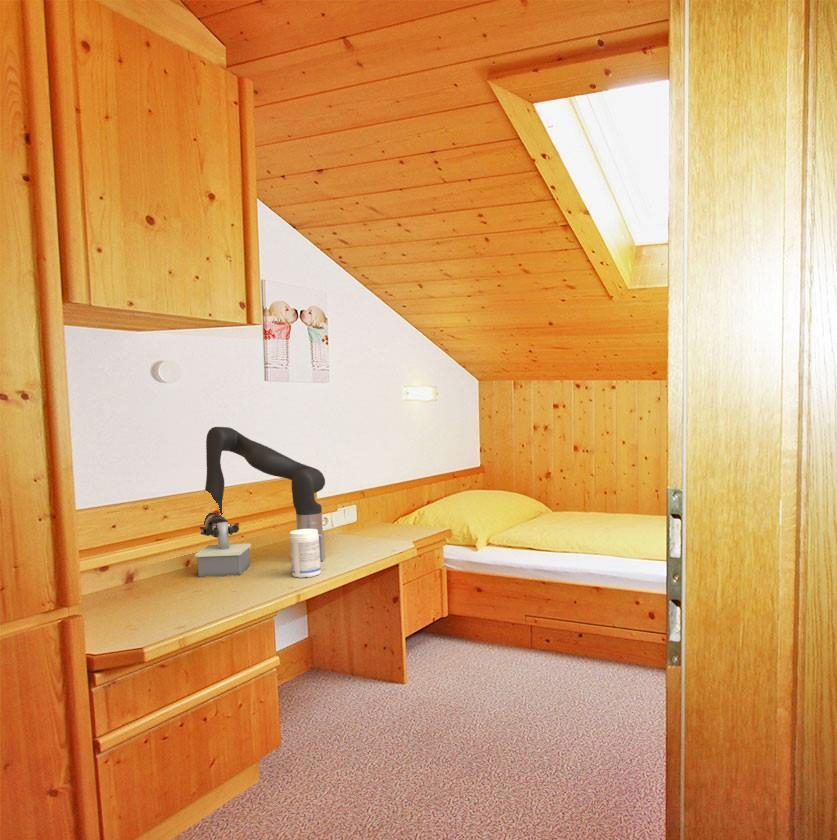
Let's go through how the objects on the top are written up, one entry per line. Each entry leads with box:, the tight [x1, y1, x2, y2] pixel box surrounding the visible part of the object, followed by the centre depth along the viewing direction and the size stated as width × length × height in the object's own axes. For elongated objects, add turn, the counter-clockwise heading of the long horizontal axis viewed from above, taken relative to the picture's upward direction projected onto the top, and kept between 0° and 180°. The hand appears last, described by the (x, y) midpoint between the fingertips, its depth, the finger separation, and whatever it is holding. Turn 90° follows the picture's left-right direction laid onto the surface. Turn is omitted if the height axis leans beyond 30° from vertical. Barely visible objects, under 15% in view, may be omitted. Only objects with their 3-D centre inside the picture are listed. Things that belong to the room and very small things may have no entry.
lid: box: [194, 522, 252, 558], centre depth 249 cm, size 15×15×10 cm
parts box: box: [196, 547, 251, 578], centre depth 249 cm, size 14×14×7 cm
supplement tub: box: [289, 529, 322, 579], centre depth 239 cm, size 10×10×15 cm
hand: (224, 532), depth 246 cm, fingers open, 4 cm apart
